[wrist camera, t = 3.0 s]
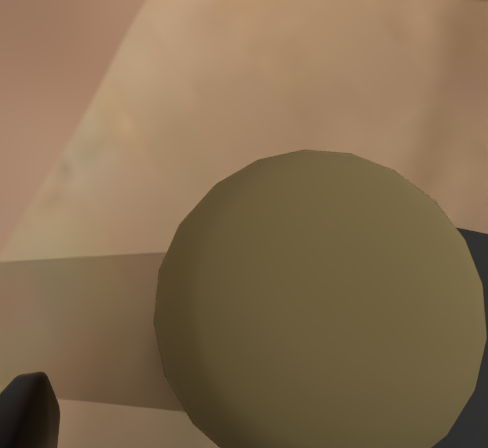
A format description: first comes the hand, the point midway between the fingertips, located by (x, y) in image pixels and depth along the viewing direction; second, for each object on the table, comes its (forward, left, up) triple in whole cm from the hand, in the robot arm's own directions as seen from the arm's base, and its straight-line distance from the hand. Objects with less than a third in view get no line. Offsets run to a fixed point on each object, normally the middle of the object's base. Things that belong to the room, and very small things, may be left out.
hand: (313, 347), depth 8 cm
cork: (+1, 0, -9) cm, 9 cm away
